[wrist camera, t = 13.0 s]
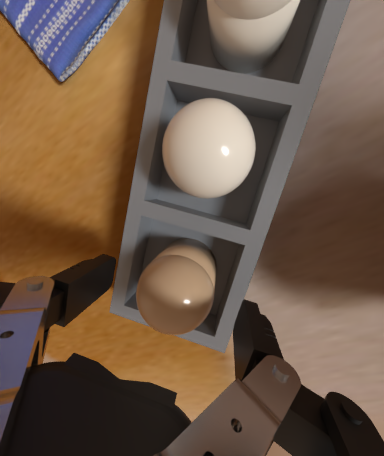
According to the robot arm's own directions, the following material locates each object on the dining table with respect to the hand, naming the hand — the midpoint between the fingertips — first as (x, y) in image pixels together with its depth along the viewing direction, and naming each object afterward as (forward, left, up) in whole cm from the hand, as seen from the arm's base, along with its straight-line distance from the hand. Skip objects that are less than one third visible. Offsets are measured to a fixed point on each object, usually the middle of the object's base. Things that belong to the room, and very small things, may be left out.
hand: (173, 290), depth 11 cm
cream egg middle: (0, -8, -4) cm, 9 cm away
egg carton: (0, -8, -5) cm, 9 cm away
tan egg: (0, 0, -4) cm, 4 cm away
